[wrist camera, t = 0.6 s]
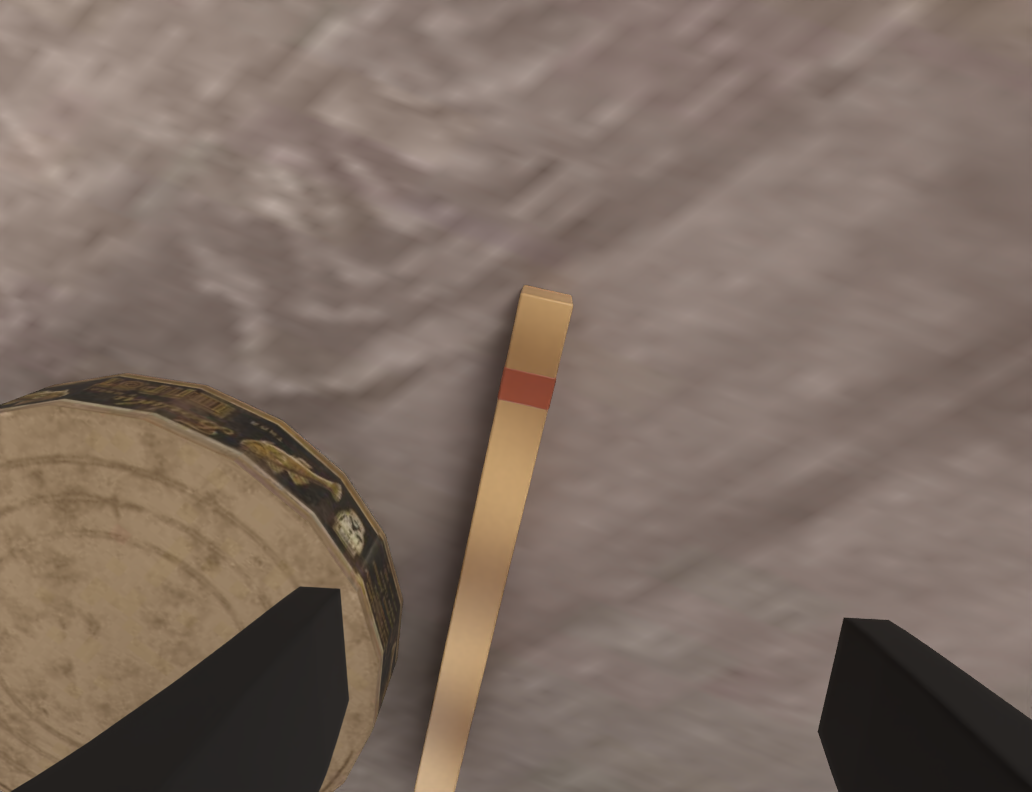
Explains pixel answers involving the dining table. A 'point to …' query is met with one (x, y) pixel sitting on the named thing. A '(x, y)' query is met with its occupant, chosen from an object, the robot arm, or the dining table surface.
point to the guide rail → (494, 528)
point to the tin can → (166, 556)
